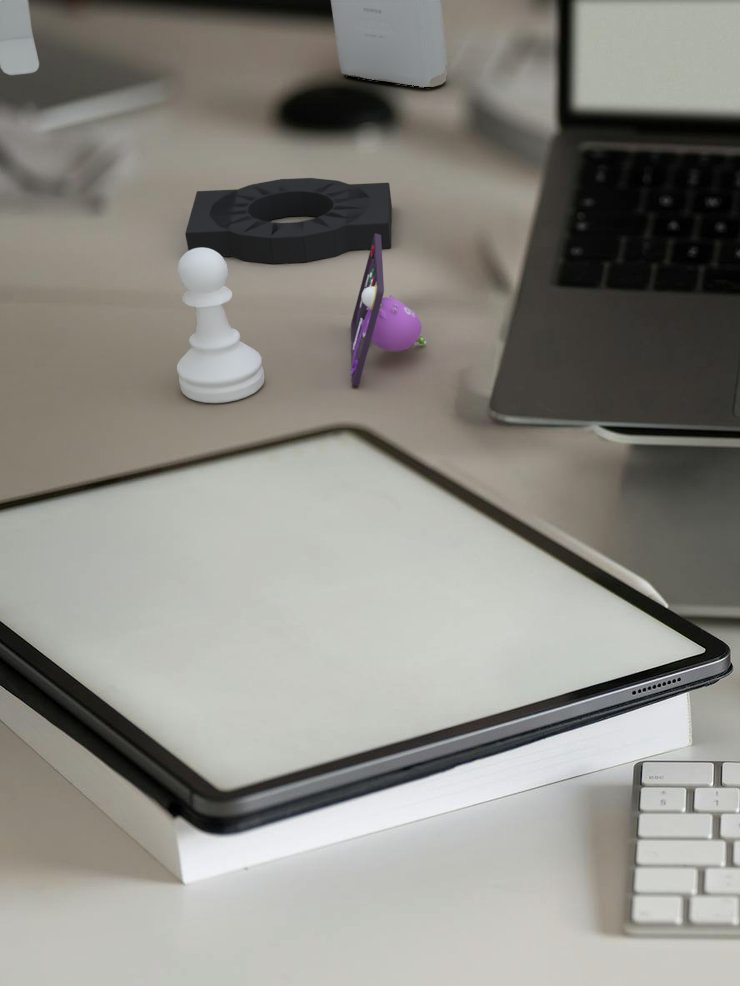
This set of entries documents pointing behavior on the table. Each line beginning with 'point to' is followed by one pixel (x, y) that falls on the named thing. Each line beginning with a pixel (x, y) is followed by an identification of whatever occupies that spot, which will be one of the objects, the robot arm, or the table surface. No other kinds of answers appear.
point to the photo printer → (390, 39)
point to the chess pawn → (214, 336)
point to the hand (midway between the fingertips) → (17, 43)
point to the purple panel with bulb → (379, 316)
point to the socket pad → (250, 237)
